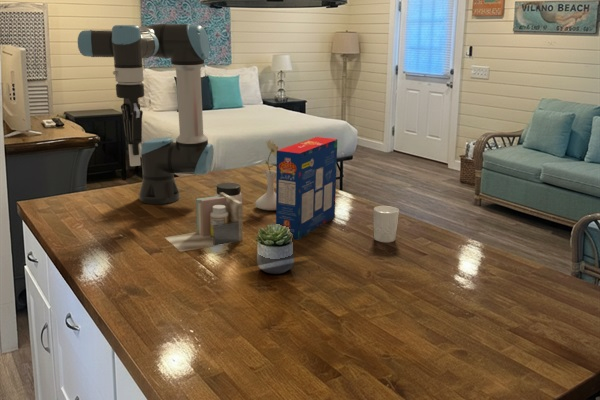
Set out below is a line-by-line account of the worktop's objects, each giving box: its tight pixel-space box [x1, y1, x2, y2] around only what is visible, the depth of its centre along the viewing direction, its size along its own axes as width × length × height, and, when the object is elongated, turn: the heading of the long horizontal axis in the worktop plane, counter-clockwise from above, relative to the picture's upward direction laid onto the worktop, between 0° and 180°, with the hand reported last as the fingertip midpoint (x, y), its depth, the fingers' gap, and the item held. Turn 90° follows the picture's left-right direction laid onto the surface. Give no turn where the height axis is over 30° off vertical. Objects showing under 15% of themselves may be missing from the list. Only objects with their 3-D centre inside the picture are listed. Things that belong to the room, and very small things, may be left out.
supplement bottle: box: [210, 205, 229, 239], centre depth 188 cm, size 6×6×10 cm
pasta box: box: [275, 136, 338, 241], centre depth 203 cm, size 28×8×28 cm, turn 152°
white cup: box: [373, 205, 400, 243], centre depth 194 cm, size 8×8×10 cm
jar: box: [215, 182, 243, 204], centre depth 211 cm, size 9×8×12 cm
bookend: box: [213, 222, 240, 246], centre depth 185 cm, size 1×8×6 cm, turn 121°
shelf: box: [164, 192, 244, 253], centre depth 187 cm, size 14×20×13 cm
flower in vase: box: [254, 139, 279, 211], centre depth 222 cm, size 13×11×25 cm
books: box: [195, 195, 226, 237], centre depth 193 cm, size 5×8×12 cm, turn 121°
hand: (135, 165), depth 177 cm, fingers closed
